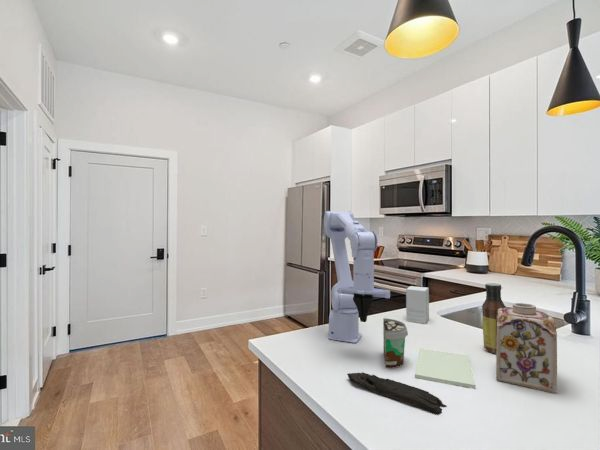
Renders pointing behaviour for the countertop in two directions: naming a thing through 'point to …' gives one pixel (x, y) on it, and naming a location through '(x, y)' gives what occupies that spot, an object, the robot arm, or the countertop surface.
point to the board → (445, 368)
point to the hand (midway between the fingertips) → (363, 320)
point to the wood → (399, 392)
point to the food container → (394, 342)
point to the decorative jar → (526, 347)
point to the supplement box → (417, 304)
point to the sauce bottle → (491, 315)
